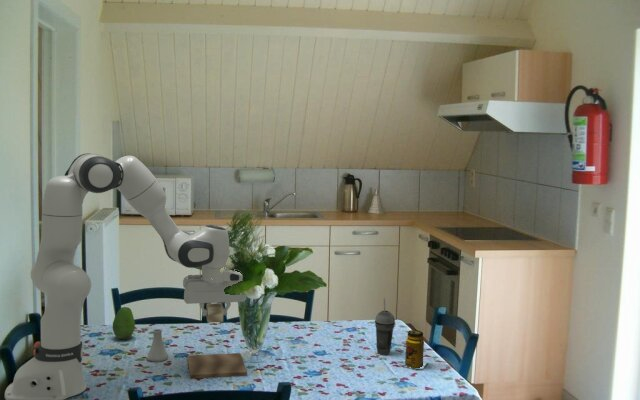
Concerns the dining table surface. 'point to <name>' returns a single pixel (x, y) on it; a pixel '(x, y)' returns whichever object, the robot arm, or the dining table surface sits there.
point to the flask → (157, 347)
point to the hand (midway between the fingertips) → (214, 315)
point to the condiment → (414, 349)
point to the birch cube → (214, 312)
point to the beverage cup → (384, 331)
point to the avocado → (124, 323)
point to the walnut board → (216, 365)
